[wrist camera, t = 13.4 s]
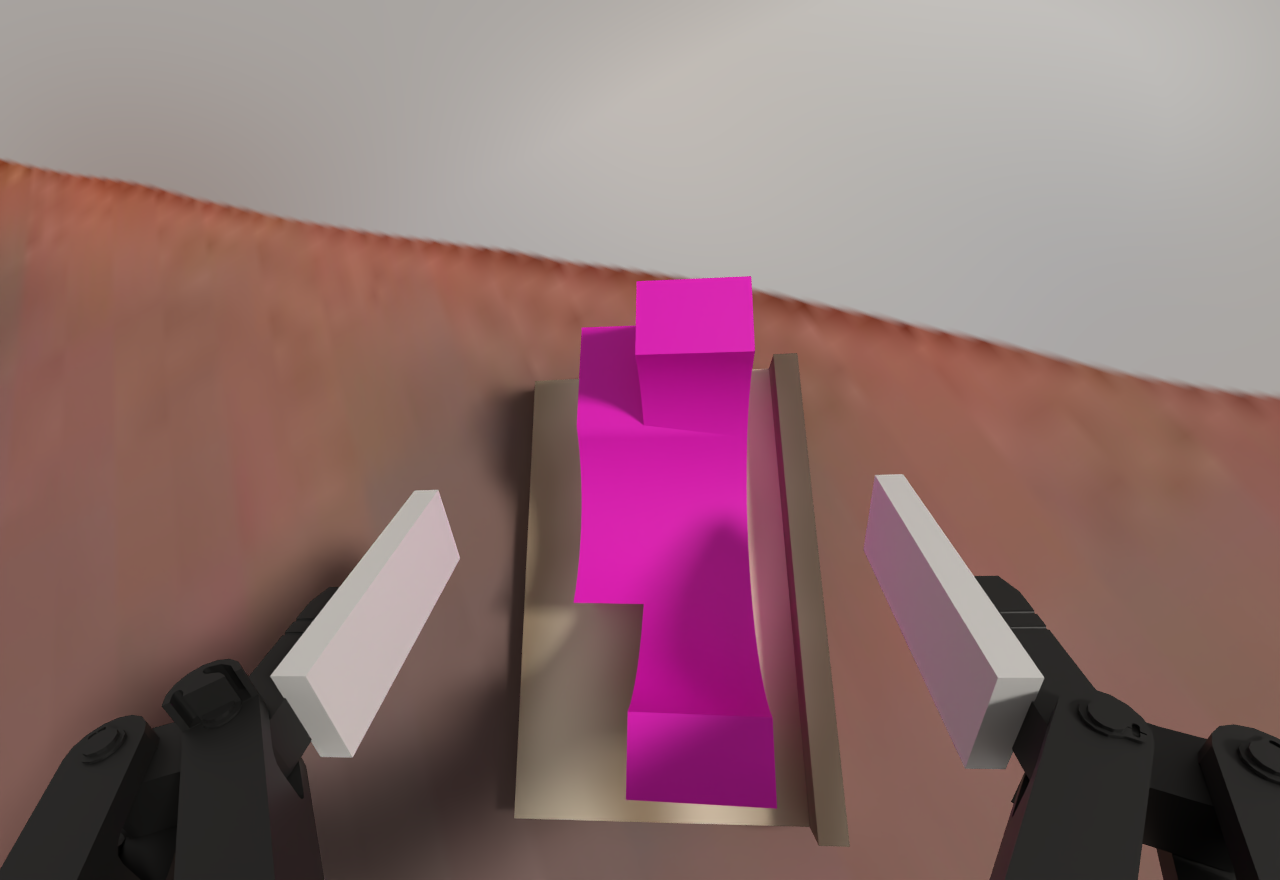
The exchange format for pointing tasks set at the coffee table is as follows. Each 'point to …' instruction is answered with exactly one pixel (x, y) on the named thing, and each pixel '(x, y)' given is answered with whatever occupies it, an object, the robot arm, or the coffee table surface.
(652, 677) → the toy block
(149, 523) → the coffee table surface
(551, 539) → the board
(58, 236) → the coffee table surface
